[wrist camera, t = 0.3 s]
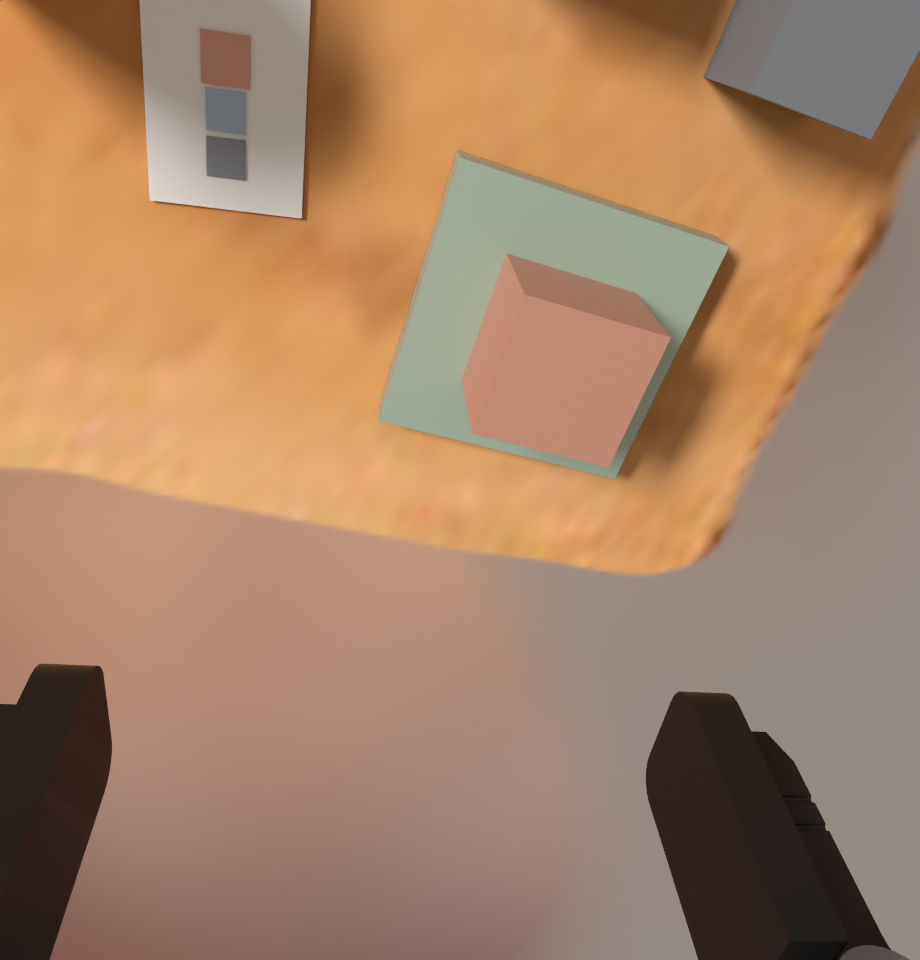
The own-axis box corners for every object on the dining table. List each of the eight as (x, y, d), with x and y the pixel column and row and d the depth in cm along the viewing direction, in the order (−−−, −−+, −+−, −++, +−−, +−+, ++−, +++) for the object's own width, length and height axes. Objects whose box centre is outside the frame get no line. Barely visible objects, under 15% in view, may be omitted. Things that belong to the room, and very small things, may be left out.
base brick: (506, 253, 34) (524, 294, 30) (636, 293, 35) (670, 337, 31) (461, 380, 37) (472, 434, 33) (582, 412, 38) (608, 467, 34)
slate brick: (764, -67, 30) (827, -73, 26) (877, -18, 31) (954, -15, 27) (702, 76, 33) (751, 93, 28) (809, 117, 34) (871, 139, 29)
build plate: (457, 150, 33) (460, 157, 32) (716, 236, 36) (729, 246, 35) (379, 406, 39) (378, 421, 38) (607, 463, 42) (614, 478, 40)
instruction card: (138, -33, 29) (136, -33, 29) (311, -5, 30) (310, -5, 30) (150, 199, 33) (149, 200, 33) (301, 217, 34) (301, 219, 34)
